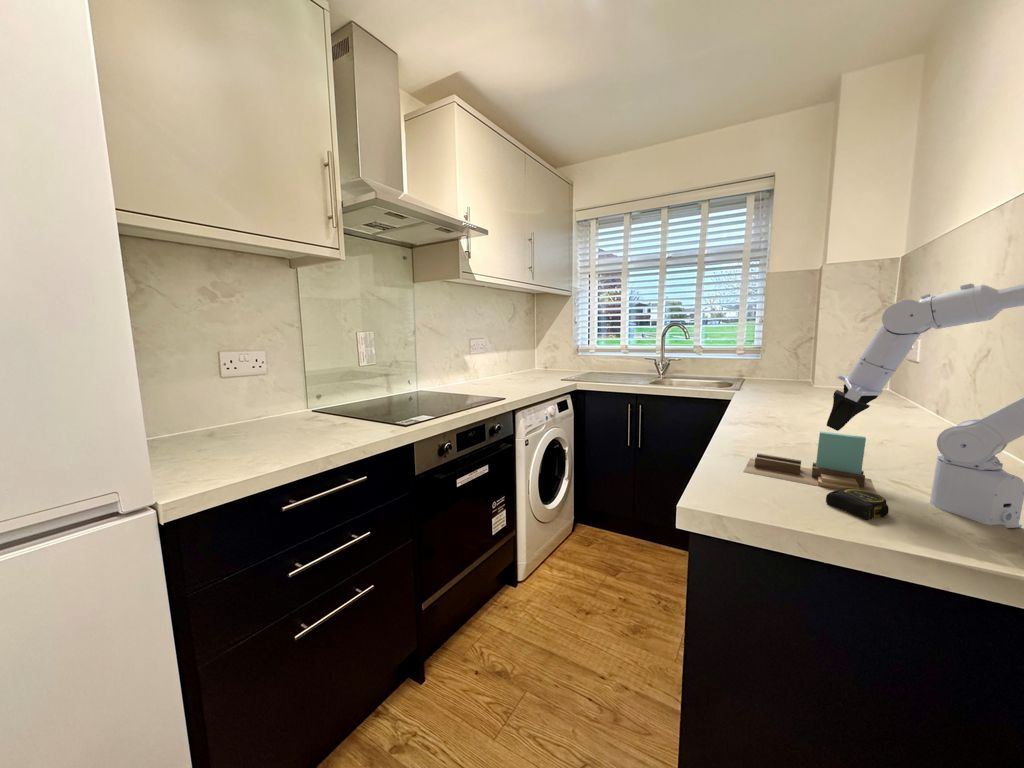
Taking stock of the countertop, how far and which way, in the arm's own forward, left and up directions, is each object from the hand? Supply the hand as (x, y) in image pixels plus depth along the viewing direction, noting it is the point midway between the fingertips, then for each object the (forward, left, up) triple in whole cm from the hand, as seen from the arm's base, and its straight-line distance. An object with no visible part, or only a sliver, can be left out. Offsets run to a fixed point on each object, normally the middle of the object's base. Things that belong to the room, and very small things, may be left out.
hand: (836, 423), depth 83 cm
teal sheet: (-2, +1, -11) cm, 11 cm away
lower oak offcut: (-6, +5, -11) cm, 13 cm away
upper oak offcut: (-6, +5, -10) cm, 12 cm away
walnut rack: (0, +6, -12) cm, 13 cm away
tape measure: (-15, +11, -12) cm, 22 cm away
